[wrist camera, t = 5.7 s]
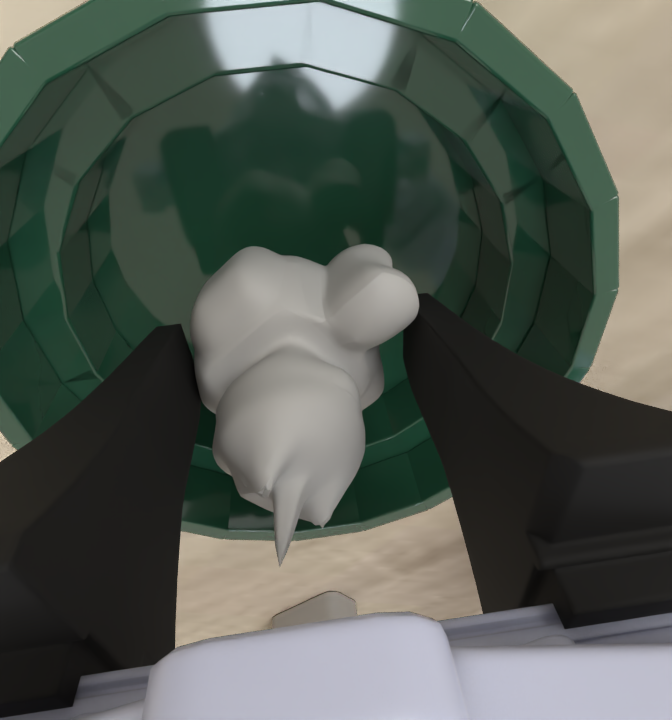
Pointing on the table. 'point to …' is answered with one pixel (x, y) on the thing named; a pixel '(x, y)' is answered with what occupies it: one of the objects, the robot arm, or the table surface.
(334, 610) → the power adapter
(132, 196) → the bowl
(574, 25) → the table surface
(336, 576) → the table surface
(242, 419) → the grey lumpy piece
